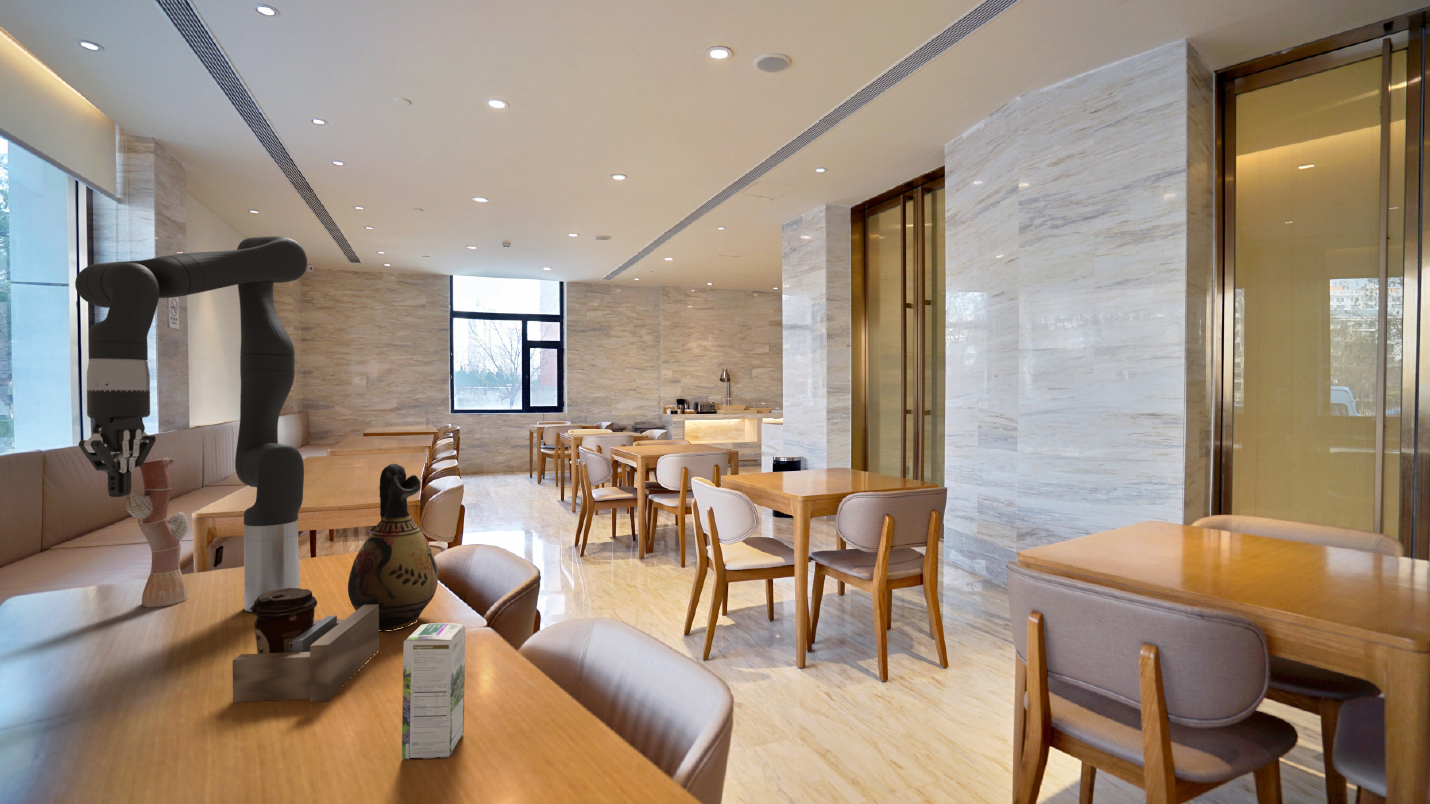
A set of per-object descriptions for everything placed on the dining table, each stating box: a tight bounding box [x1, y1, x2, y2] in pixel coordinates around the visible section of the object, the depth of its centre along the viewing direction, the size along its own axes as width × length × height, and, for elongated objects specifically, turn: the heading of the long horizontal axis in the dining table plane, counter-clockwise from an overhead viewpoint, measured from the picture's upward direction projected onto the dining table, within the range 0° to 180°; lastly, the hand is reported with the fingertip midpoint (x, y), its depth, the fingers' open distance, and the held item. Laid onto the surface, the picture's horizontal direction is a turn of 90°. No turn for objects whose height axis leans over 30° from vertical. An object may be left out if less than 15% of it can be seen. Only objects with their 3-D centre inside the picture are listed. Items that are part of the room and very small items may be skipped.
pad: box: [292, 614, 338, 652], centre depth 102 cm, size 1×11×7 cm, turn 6°
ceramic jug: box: [347, 463, 439, 630], centre depth 126 cm, size 17×15×30 cm
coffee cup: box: [250, 587, 318, 654], centre depth 101 cm, size 9×8×13 cm
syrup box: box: [401, 622, 466, 760], centre depth 82 cm, size 6×6×14 cm
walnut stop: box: [232, 604, 380, 703], centre depth 102 cm, size 13×18×8 cm
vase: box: [125, 457, 189, 608], centre depth 136 cm, size 11×7×30 cm
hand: (120, 495), depth 106 cm, fingers closed
